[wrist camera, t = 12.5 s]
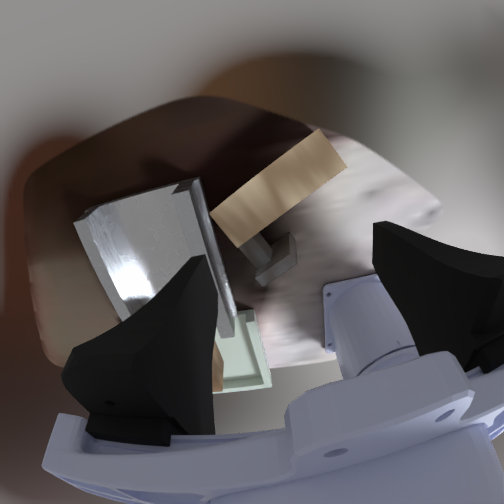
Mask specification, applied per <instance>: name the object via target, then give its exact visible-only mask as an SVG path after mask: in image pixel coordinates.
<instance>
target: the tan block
mask: <svg viewBox="0 0 504 504" xmlns="http://www.w3.org/2000/svg"><path fill="white" fill-rule="evenodd" d="M345 168H347V166H346V164H345V163H344V161H343V160H342V159H341V157H340V156H339V155H338V153H337V152H336V150H335V149H334V148H333V146H332V145H331V144H330V142H329V141H328V140H327V139H326V137H325V136H324V135H323V133H322V132H321V131H320V129H317V130H316V131H315V132H313V133H312V134H310V135H309V136H308V137H306V138H305V139H304V140H302V141H301V142H299V143H298V144H297V145H295V146H294V147H293V148H291V149H290V150H289V151H287V152H286V153H285V154H283V155H282V156H281V157H279V158H278V159H277V160H275V161H274V162H273V163H271V164H270V165H269V166H268V167H266V168H265V169H264V170H262V171H261V172H260V173H259V174H257V175H256V176H255V177H253V178H252V179H251V180H250V181H248V182H247V183H246V184H245V185H243V186H242V187H241V188H239V189H238V190H237V191H236V192H235V193H233V194H232V195H231V196H230V197H228V198H227V199H226V200H225V201H223V202H222V203H221V204H220V205H219V206H217V207H216V208H215V209H214V210H212V211H211V212H210V213H209V215H210V216H211V217H212V218H213V219H214V221H215V222H216V223H217V224H218V225H219V227H220V228H221V229H222V230H223V232H224V233H225V234H226V235H227V236H228V238H229V239H230V240H231V241H232V242H233V244H234V245H235V246H236V247H237V248H238V247H239V249H240V250H241V251H242V252H243V253H244V255H245V256H246V257H247V258H248V259H249V261H250V262H251V263H252V264H253V266H254V267H255V268H256V269H257V272H256V276H255V279H256V280H257V281H258V282H259V283H260V285H261V286H262V287H263V286H265V285H266V284H268V283H269V282H271V281H272V280H274V279H275V278H277V277H278V276H280V275H281V274H283V273H284V272H286V271H287V270H289V269H290V268H292V267H293V266H294V265H296V264H297V254H296V244H295V239H294V238H293V236H292V235H291V234H290V233H287V234H286V235H285V236H283V237H282V238H280V239H279V240H278V241H276V242H275V243H273V244H272V245H271V246H270V245H269V244H268V243H267V242H266V240H265V239H264V238H263V237H262V235H261V234H260V233H259V232H260V231H261V230H262V229H264V228H265V227H266V226H268V225H269V224H270V223H272V222H273V221H274V220H276V219H277V218H278V217H280V216H281V215H283V214H284V213H285V212H287V211H288V210H289V209H291V208H292V207H293V206H295V205H296V204H297V203H299V202H300V201H302V200H303V199H304V198H306V197H307V196H308V195H310V194H311V193H312V192H314V191H315V190H317V189H318V188H319V187H321V186H322V185H323V184H325V183H326V182H328V181H329V180H330V179H332V178H333V177H334V176H336V175H337V174H339V173H340V172H341V171H343V170H344V169H345Z"/></svg>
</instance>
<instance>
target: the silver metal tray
mask: <svg viewBox="0 0 504 504" xmlns="http://www.w3.org/2000/svg"><path fill="white" fill-rule="evenodd" d="M209 213H210V211H209V207H208V203H207V200H206V196H205V192H204V188H203V184H202V181H201V177H195V178H191V179H187V180H183V181H179V182H175V183H171V184H167V185H163V186H160V187H156V188H152V189H149V190H145V191H142V192H138V193H135V194H131V195H128V196H124V197H121V198H118V199H115V200H111V201H108V202H105V203H102V204H99V205H96V206H93V207H90V208H88V209H87V210H86V211H85V213H84V214H83V215H82V216H81V217H79V218H78V219H77V220H76V221H75V222H74V225H75V228H76V230H77V233H78V235H79V237H80V240H81V242H82V244H83V246H84V249H85V251H86V253H87V255H88V257H89V259H90V261H91V264H92V266H93V268H94V270H95V272H96V274H97V276H98V278H99V280H100V282H101V284H102V286H103V288H104V289H105V291H106V293H107V295H108V297H109V299H110V301H111V302H112V304H113V306H114V308H115V310H116V311H117V313H118V315H119V317H120V318H121V320H122V322H123V321H124V320H125V319H127V318H128V317H130V316H131V315H132V314H134V313H135V312H137V311H138V310H139V309H140V308H141V307H143V306H144V305H145V304H146V303H147V302H148V301H150V300H151V299H152V298H153V297H154V296H155V295H156V294H157V293H158V292H159V291H160V290H161V289H162V288H163V287H164V286H165V285H166V284H167V283H168V282H169V281H170V280H171V278H172V277H173V276H174V275H175V274H176V273H177V272H178V271H179V270H180V268H181V267H182V266H183V265H184V264H185V263H186V262H187V261H188V260H189V259H190V258H191V257H193V256H198V255H203V254H206V257H207V261H208V264H209V267H210V270H211V273H212V276H213V279H214V282H215V285H216V288H217V291H218V318H217V326H216V327H217V330H218V333H219V335H220V338H221V339H224V338H231V337H235V317H238V309H237V306H236V302H235V299H234V296H233V292H232V289H231V285H230V282H229V278H228V275H227V272H226V268H225V265H224V261H223V258H222V254H221V251H220V247H219V243H218V240H217V236H216V233H215V229H214V225H213V222H212V218H211V216H210V215H209Z"/></svg>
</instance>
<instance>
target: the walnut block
mask: <svg viewBox="0 0 504 504" xmlns="http://www.w3.org/2000/svg"><path fill="white" fill-rule="evenodd" d="M223 371H224V361H223V358H222V356H221V354H220V351H219V349H218V346H217V344H216V341H214V349H213V359H212V390H213V392H221V391H223Z"/></svg>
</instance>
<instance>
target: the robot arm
mask: <svg viewBox="0 0 504 504" xmlns="http://www.w3.org/2000/svg"><path fill="white" fill-rule="evenodd" d="M372 264H373V266H374V268H375V271H376V273H377V274H373V275H368V276H364V277H359V278H354V279H350V280H345V281H340V282H335V283H330V284H326V285H325V286H324V287H323V306H324V329H325V351H326V353H333V352H335V353H336V356H337V360H338V363H339V366H340V370H341V373H342V376H343V380H339V381H335V382H331V383H328V384H325V385H322V386H319V387H316V388H313V389H310V390H307V391H306V392H305V393H303V394H302V395H300V396H299V397H297V398H296V399H295V400H293V401H292V402H291V403H290V404H288V407H287V410H286V412H285V415H284V418H285V426H286V428H282V429H275V430H267V431H258V432H249V433H238V434H222V435H215V426H214V411H213V390H212V359H213V349H214V341H215V334H216V326H217V318H218V291H217V288H216V285H215V282H214V279H213V276H212V273H211V270H210V267H209V264H208V261H207V257H206V254H203V255H198V256H193V257H191V258H190V259H189V260H188V261H187V262H186V263H185V264H184V265H183V266H182V267H181V268H180V270H179V271H178V272H177V273H176V274H175V275H174V276H173V277H172V278H171V280H170V281H169V282H168V283H167V284H166V285H165V286H164V287H163V288H162V289H161V290H160V291H159V292H158V293H157V294H156V295H155V296H154V297H153V298H152V299H151V300H150V301H148V302H147V303H146V304H145V305H144V306H143V307H141V308H140V309H139V310H138V311H137V312H135V313H134V314H132V315H131V316H130V317H128V318H127V319H125V320H124V321H123V322H121V323H120V324H118V325H117V326H115V327H113V328H112V329H110V330H108V331H107V332H105V333H103V334H101V335H100V336H98V337H96V338H94V339H92V340H89V341H87V342H85V343H83V344H81V345H79V346H76V347H74V348H73V349H72V352H71V354H70V356H69V358H68V360H67V362H66V364H65V367H64V369H63V371H62V373H61V379H62V381H63V384H64V386H65V387H66V389H67V390H68V391H69V392H70V393H71V395H72V396H73V397H74V398H75V399H76V400H77V401H78V402H79V403H80V404H81V405H83V407H85V408H86V409H87V410H88V411H89V412H90V416H89V419H88V420H87V419H85V418H83V417H79V416H74V415H69V414H63V413H60V414H58V417H57V420H56V422H55V425H54V428H53V431H52V434H51V437H50V440H49V443H48V446H47V450H46V453H45V456H44V459H43V463H42V467H43V469H44V470H46V471H48V472H49V473H51V474H53V475H55V476H56V477H58V478H60V479H62V480H64V481H65V482H67V483H69V484H71V485H73V486H75V487H77V488H79V489H81V490H83V491H85V492H88V493H91V494H94V495H98V496H101V497H105V498H108V499H112V500H115V501H120V502H123V503H127V504H504V473H503V470H502V467H501V464H500V462H499V459H498V457H497V454H496V451H495V449H494V447H493V444H492V442H491V440H492V439H494V438H495V437H497V436H498V435H499V434H501V433H502V432H503V431H504V257H502V256H494V255H487V254H481V253H476V252H472V251H468V250H464V249H460V248H457V247H453V246H450V245H447V244H444V243H441V242H438V241H436V240H433V239H431V238H428V237H426V236H423V235H421V234H419V233H416V232H414V231H411V230H409V229H407V228H404V227H402V226H399V225H397V224H394V223H391V222H388V221H382V222H377V223H373V257H372ZM327 293H330V294H328V295H327ZM329 343H330V344H329Z"/></svg>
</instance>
